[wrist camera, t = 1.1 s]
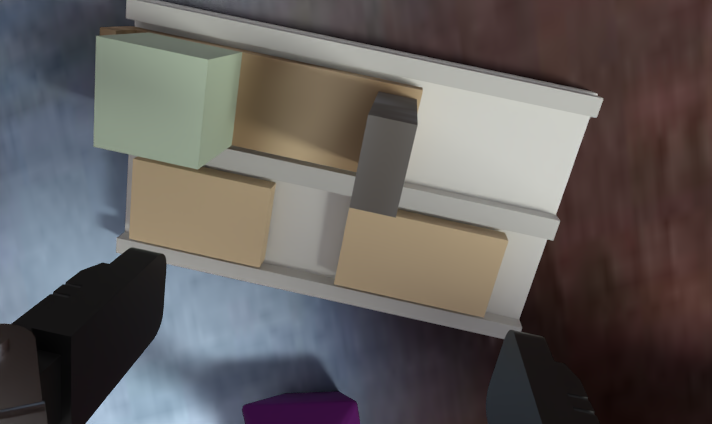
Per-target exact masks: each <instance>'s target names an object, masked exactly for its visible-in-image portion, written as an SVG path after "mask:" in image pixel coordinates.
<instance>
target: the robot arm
mask: <svg viewBox="0 0 712 424" xmlns="http://www.w3.org/2000/svg"><path fill="white" fill-rule="evenodd" d="M165 279H166V257H165V255H164V254H162V253H157V252H152V251H148V250H143V249H139V248H134V247H131V248H129V249H127V250H126V251H125V252H124V253H122V254H121V255H120V256H119V257H118V258H116V259H115V260H114V261H113V262H111V263H110V264H107V263H100V264H98V265H95V266H92V267H90V268H87V269H84V270H81V271H80V272H79V273H77V274H76V275H75V276H73V277H72V278H71V279H69V280H68V281H67V282H66V284H65V285H62V286H60V287H59V288H58V289H56V290H55V291H54V292H53V295H52V294H50V295H49V296H47V297H46V298H45V299H43V300H42V301H41V302H39V303H38V304H37V305H35V306H34V307H33V308H32V309H30V310H29V311H28V312H26V313H25V314H24V315H22V316H21V317H20V318H18V319H17V320H16V321H15V322H13V323H12V324H0V424H85V423H86V422H87V421H88V420H89V418H90V417H91V416H92V415H93V414H94V412H95V411H96V410H97V409H98V407H99V406H100V405H101V404H102V402H103V401H104V400H105V399H106V397H107V396H108V395H109V394H110V392H111V391H112V390H113V389H114V388H115V386H116V385H117V384H118V383H119V381H120V380H121V379H122V378H123V376H124V375H125V374H126V373H127V371H128V370H129V369H130V368H131V366H132V365H133V364H134V363H135V362H136V360H137V359H138V358H139V357H140V355H141V354H142V353H143V352H144V350H145V349H146V348H147V347H148V345H149V344H150V343H151V342H152V340H153V339H154V338H155V336H156V334H157V332H158V330H159V327H160V325H161V321H162V317H163V308H164V293H165ZM486 414H487V420H488V424H600V423H599V420H598V418H597V416H596V415H594V409H593V407H592V405H591V403H590V401H588V396H587V394H586V392H585V389H584V387H583V385H582V383H581V381H580V379H579V378H578V377H577V376H576V375H575V374H574V373H573V372H572V371H571V370H570V369H569V368H568V367H567V366H566V365H565V364H564V363H559V362H555V361H554V359H553V357H552V354H551V352H550V349H549V347H548V344H547V342H546V340H545V338H544V337H543V336H538V335H534V334H529V333H524V332H520V331H515V330H509V331H508V332H507V334H506V336H505V339H504V342H503V345H502V348H501V351H500V354H499V357H498V360H497V363H496V366H495V369H494V372H493V375H492V378H491V381H490V384H489V388H488V392H487V399H486Z"/></svg>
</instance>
